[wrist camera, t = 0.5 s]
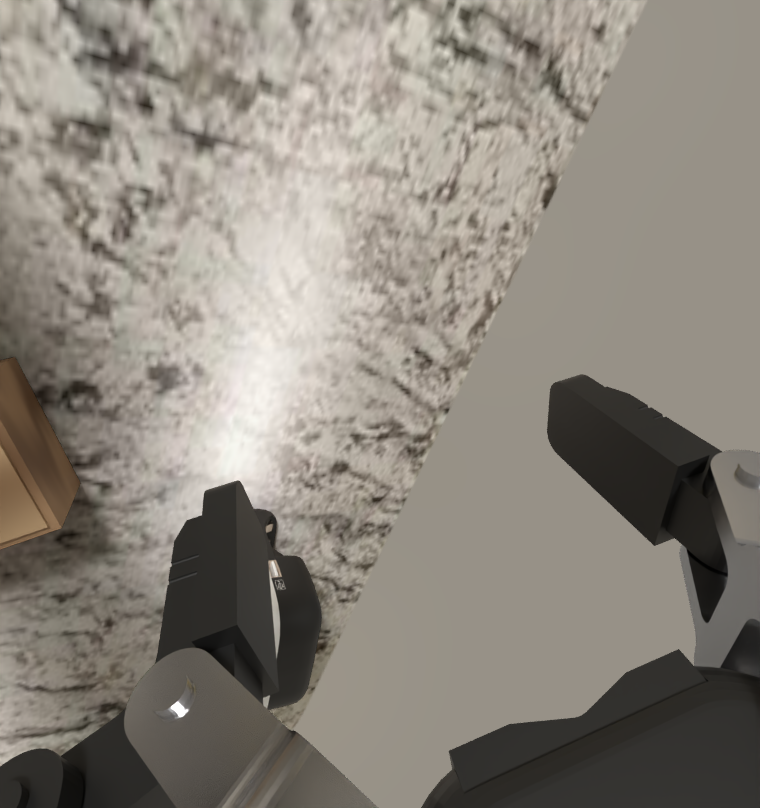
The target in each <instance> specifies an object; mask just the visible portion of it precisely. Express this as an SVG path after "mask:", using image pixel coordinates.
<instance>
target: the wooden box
mask: <svg viewBox="0 0 760 808" xmlns="http://www.w3.org/2000/svg"><path fill="white" fill-rule="evenodd" d="M79 486H80V481H79V479H78V478H77V476H76V474H75V472H74V470H73V468H72V466H71V464H70V462H69V460H68V458H67V456H66V454H65V452H64V451H63V449H62V447H61V445H60V443H59V441H58V439H57V437H56V435H55V433H54V431H53V429H52V427H51V425H50V424H49V422H48V420H47V418H46V416H45V414H44V412H43V410H42V408H41V406H40V404H39V402H38V400H37V398H36V397H35V395H34V393H33V391H32V389H31V387H30V385H29V383H28V381H27V379H26V377H25V375H24V373H23V371H22V370H21V368H20V366H19V364H18V362H17V360H16V358H15V357H13V358H8V359H4V360H0V549H3V548H6V547H9V546H12V545H15V544H18V543H21V542H23V541H26V540H29V539H32V538H35V537H38V536H41V535H44V534H46V533H49V532H52V531H55V530H58V529H61V528H62V526H63V524H64V521H65V519H66V517H67V514H68V512H69V509H70V507H71V505H72V502H73V500H74V498H75V495H76V493H77V490H78V488H79Z"/></svg>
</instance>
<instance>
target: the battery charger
mask: <svg viewBox="0 0 760 808" xmlns="http://www.w3.org/2000/svg"><path fill="white" fill-rule="evenodd" d="M254 511H255V513H256V515H257V518H258V520H259V522H260V524H261V527H262V529H263V532H264V536H265V540H266V545H267V552H268V564H269V576H270V588H271V600H272V612H273V624H274V636H275V648H276V660H277V672H278V684H279V692H277V693H274V694H272V695H269V696H267V697H264V698H263V705H264V706H265V707H266V708H267V709H268V710H270V709H275V708H279V707H283V706H287V705H290V704H293V703H296V702H298V701H299V700H300V699H301V698H302V697H303V696H304V694H305V692H306V691H307V689H308V685H309V681H310V677H311V672H312V667H313V663H314V658H315V653H316V648H317V643H318V637H319V632H320V627H321V619H322V614H321V607H320V603H319V600H318V596H317V593H316V590H315V587H314V585H313V582H312V579H311V576H310V574H309V571H308V569H307V567H306V565H305V563H304V561H303V560H302V559H301V558H300V557H297V556H283V555H282V554H280V553H279V552H277V551H276V550H275V549H273V544H274V538H275V532H276V518H275V516H274V515H273V514H272V513H271V512H269V511H267V510H262V509H254Z"/></svg>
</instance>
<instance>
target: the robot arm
mask: <svg viewBox="0 0 760 808" xmlns="http://www.w3.org/2000/svg"><path fill="white" fill-rule="evenodd" d="M547 433H548V439H549V442H550V444H551V446H552V448H553V449H554V451H555V452H556V453H557V454H558V455H559V456H560V457H561V458H562V459H563V460H564V461H565V462H566V463H567V464H569V466H571V467H572V468H573V469H574V470H575V471H576V472H577V473H578V474H579V475H580V476H581V477H582V478H583V479H585V481H586V482H587V483H588V484H590V485H591V486H592V487H593V488H594V489H595V490H596V491H597V492H598V493H599V494H600V495H601V496H602V497H603V498H604V499H606V500H607V502H609V503H610V504H611V505H612V506H613V507H614V508H615V509H616V510H617V511H618V512H619V513H620V514H621V515H622V516H624V518H626V519H627V520H628V521H629V522H630V523H631V524H632V525H633V526H634V527H635V528H636V529H637V530H638V531H639V532H640V533H641V534H642V535H643V536H644V537H646V538H647V539H648V540H649V541H650V542H651V543H652V544H653V545H654V546H655V545H658V544H661V543H663V542H666V541H668V540H670V539H673V538H675V539H677V540H678V541H679V542H680V543H681V544H682V545H681V548H680V552H679V554H680V561H681V565H682V570H683V574H684V580H685V584H686V589H687V593H688V598H689V603H690V608H691V613H692V617H693V622H694V627H695V634H696V646H695V654H694V666H693V665H692V664H691V662H690V661H689V660H688V659H687V658H686V657H685V656H684V654H683V653H682V652H681V651H680V650H679V649H678V650H676V651H674V652H671V653H669V654H667V655H665V656H663V657H660V658H658V659H656V660H654V661H651V662H649V663H647V664H644V665H642V666H640V667H638V668H635V669H633V670H631V671H629V672H626V673H625V674H624V675H623V676H622V677H621V678H620V679H619V680H618V681H617V682H616V683H615V684H614V685H613V686H612V687H611V688H610V689H609V690H608V691H607V692H606V693H605V694H604V695H603V696H602V697H601V698H600V699H599V700H598V701H597V702H596V703H595V704H594V705H593V706H592V707H591V708H590V709H589V710H588V711H587V712H586V713H585V714H583V715H582V716H579V717H576V718H568V719H558V720H547V721H537V722H527V723H517V724H509V725H506V726H504V727H502V728H500V729H498V730H495V731H493V732H491V733H488V734H486V735H484V736H482V737H479V738H477V739H475V740H473V741H470V742H468V743H466V744H463V745H461V746H459V747H457V748H455V749H452V750H450V751H449V754H450V759H451V765H452V770H451V771H450V772H449V773H448V774H447V775H446V776H445V777H444V778H443V779H442V780H441V781H440V782H439V783H438V784H437V786H436V787H435V788H434V789H433V791H432V792H431V793H430V794H429V796H428V797H427V799H426V801H425V802H424V804H423V806H422V807H421V808H760V453H758V452H754V451H748V450H729V451H724V452H722V451H720V450H719V449H717V448H715V447H714V446H712V445H711V444H709V443H707V442H706V441H704V440H703V439H701V438H699V437H698V436H696V435H695V434H693V433H691V432H690V431H688V430H686V429H685V428H683V427H682V426H680V425H679V424H677V423H675V422H673V421H672V420H670V419H669V418H667V417H663V416H662V414H661V413H659V412H657V411H656V410H654V409H653V408H648V406H647V405H646V404H645V403H643V402H641V401H640V400H638V399H637V398H635V397H634V396H632V395H630V394H628V393H625V392H622V391H619V390H616V389H612V388H609V387H604V386H602V385H601V384H599V383H598V382H596V381H595V380H593V379H592V378H590V377H588V376H586V375H578V376H575V377H571V378H568V379H565V380H562V381H558V382H555V383H554V384H553V385H552V386H551V389H550V399H549V412H548V427H547ZM171 563H172V567H170V574H169V585H168V587H167V594H166V600H165V607H164V614H163V620H162V627H161V634H160V640H159V647H158V653H157V658H156V662H155V665H153V666H152V667H151V668H150V669H149V670H148V671H147V672H146V673H145V675H144V676H143V677H142V678H141V680H140V681H139V682H138V684H137V685H136V687H135V689H134V690H133V692H132V694H131V696H130V699H129V701H128V704H127V707H126V708H125V709H124V710H123V711H122V712H121V713H120V714H119V715H118V716H116V717H115V718H114V719H112V720H111V721H110V722H108V723H107V724H106V725H104V726H103V727H101V728H100V729H99V730H97V731H96V732H94V733H93V734H91V735H90V736H89V737H87V738H86V739H84V740H83V741H82V742H80V743H79V744H77V745H76V746H74V747H73V748H72V749H70V750H69V751H67V752H66V753H65V754H63V755H62V756H60V755H58V754H56V753H55V752H53V751H51V750H48V749H34V750H30V751H27V752H24V753H22V754H20V755H18V756H16V757H14V758H12V759H11V760H9V761H8V762H6V763H5V764H3V765H2V766H1V767H0V808H378V807H377V806H376V805H375V804H374V803H373V802H372V801H371V800H370V799H369V798H367V797H366V796H365V795H364V794H363V793H362V792H361V791H360V790H359V789H358V788H357V787H356V786H355V785H354V784H353V783H352V782H351V781H349V780H348V779H347V778H346V777H345V776H344V775H343V774H342V773H341V772H340V771H339V770H338V769H337V768H336V767H335V766H334V765H332V763H330V762H329V761H328V760H327V759H326V758H325V757H324V756H323V755H322V754H321V753H320V752H319V751H318V750H317V749H316V748H315V747H314V746H312V745H311V744H310V743H309V742H308V741H307V740H306V739H305V738H303V737H302V736H301V735H300V734H298V733H297V732H296V731H291V730H289V729H288V728H287V727H286V726H285V725H283V724H282V723H281V722H280V721H279V720H278V719H277V718H276V717H275V716H274V715H273V714H272V713H271V712H270V711H269V710H268V709H267V708H266V707H265V706H264V705H263V698H264V697H267V696H269V695H272V694H274V693H277V692H279V684H278V672H277V660H276V648H275V636H274V624H273V612H272V600H271V588H270V576H269V564H268V552H267V545H266V540H265V536H264V532H263V529H262V527H261V524H260V522H259V520H258V518H257V515H256V513H255V511H254V509H253V507H252V505H251V502H250V500H249V498H248V496H247V494H246V492H245V490H244V487H243V485H242V484H241V482H240V481H234V482H231V483H228V484H225V485H222V486H218V487H215V488H212V489H209V490H206V491H205V493H204V500H203V511H202V516H199V517H196V518H193V519H190V520H187V521H186V523H185V524H184V526H183V528H182V529H181V531H180V533H179V535H178V536H177V538H176V540H175V541H174V547H173V554H172V561H171Z"/></svg>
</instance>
